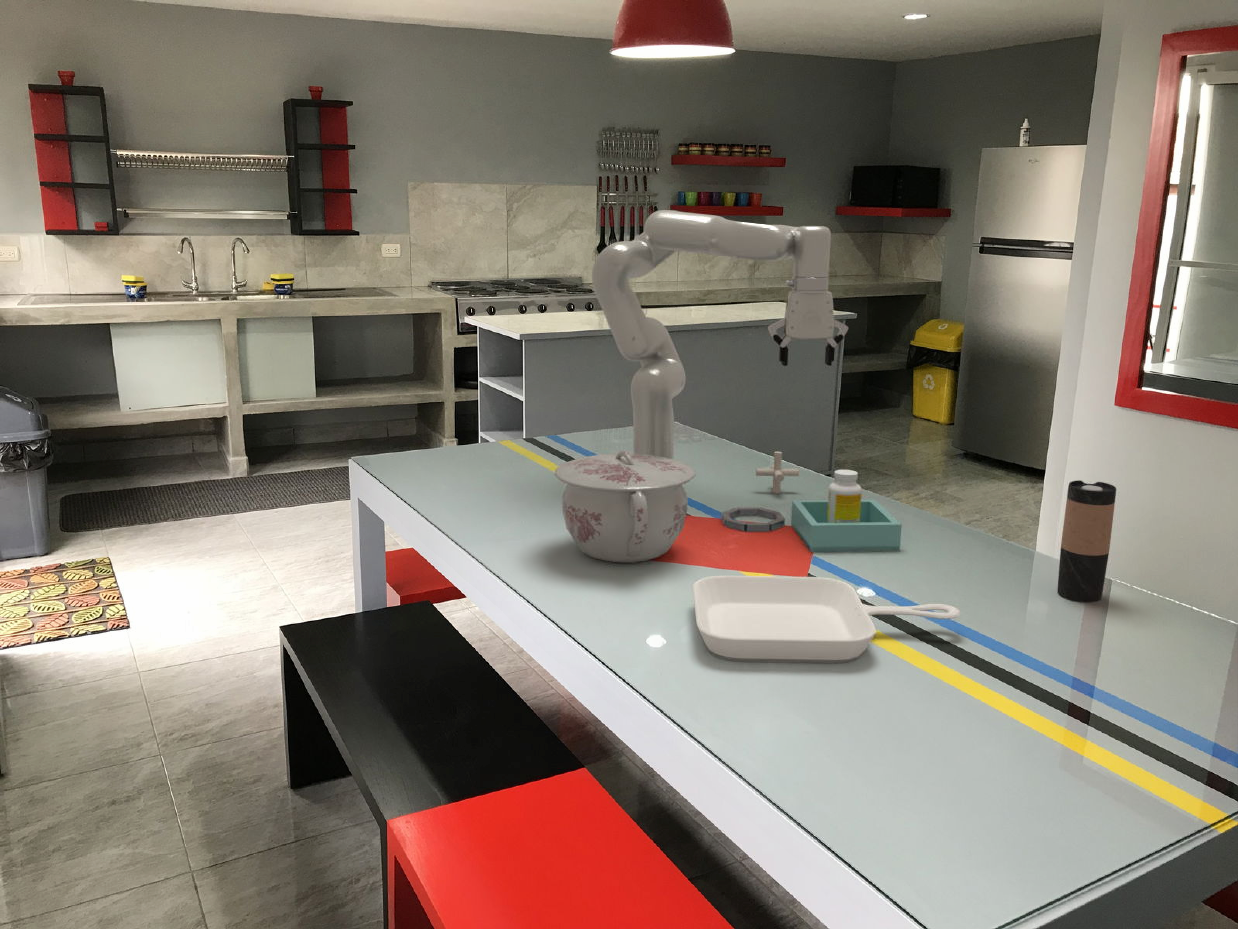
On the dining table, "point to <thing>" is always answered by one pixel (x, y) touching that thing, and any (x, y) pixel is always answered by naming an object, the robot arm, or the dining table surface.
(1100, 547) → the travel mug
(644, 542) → the chamber pot
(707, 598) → the pan
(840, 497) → the supplement bottle
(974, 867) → the dining table surface
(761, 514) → the collar
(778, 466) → the pipe connector
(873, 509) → the bin
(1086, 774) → the dining table surface
